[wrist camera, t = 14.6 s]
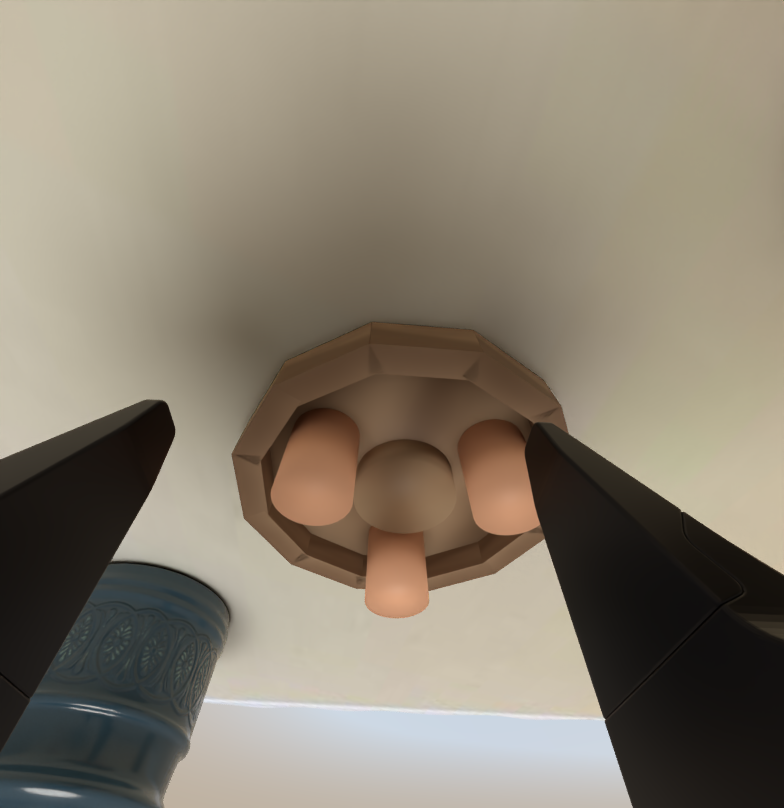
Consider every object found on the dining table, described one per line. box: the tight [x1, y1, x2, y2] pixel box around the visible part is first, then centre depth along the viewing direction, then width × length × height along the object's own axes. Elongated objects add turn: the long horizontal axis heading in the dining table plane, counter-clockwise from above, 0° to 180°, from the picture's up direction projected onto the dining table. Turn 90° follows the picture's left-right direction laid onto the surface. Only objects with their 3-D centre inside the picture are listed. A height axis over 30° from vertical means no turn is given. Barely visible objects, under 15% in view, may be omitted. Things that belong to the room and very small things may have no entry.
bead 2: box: [365, 526, 429, 618], centre depth 23 cm, size 4×4×4 cm
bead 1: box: [271, 408, 360, 526], centre depth 19 cm, size 4×4×4 cm
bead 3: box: [458, 419, 540, 535], centre depth 19 cm, size 4×4×4 cm
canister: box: [0, 564, 229, 808], centre depth 24 cm, size 13×13×18 cm
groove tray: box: [232, 322, 569, 591], centre depth 22 cm, size 18×18×3 cm
